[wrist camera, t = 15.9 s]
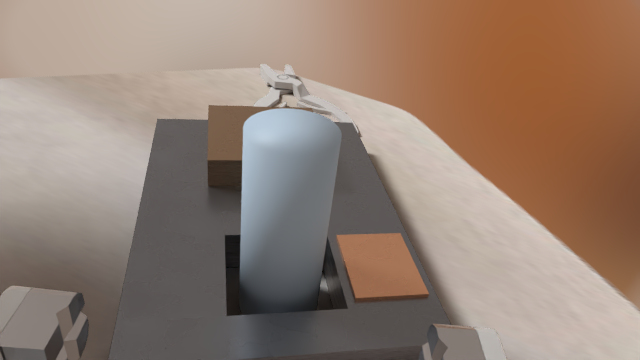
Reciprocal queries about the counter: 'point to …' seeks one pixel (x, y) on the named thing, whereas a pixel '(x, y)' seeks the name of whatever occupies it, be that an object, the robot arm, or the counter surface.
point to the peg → (285, 208)
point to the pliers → (296, 94)
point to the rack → (224, 251)
